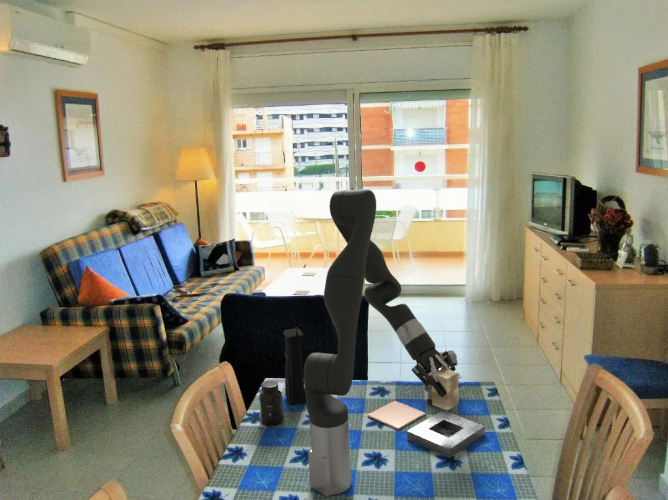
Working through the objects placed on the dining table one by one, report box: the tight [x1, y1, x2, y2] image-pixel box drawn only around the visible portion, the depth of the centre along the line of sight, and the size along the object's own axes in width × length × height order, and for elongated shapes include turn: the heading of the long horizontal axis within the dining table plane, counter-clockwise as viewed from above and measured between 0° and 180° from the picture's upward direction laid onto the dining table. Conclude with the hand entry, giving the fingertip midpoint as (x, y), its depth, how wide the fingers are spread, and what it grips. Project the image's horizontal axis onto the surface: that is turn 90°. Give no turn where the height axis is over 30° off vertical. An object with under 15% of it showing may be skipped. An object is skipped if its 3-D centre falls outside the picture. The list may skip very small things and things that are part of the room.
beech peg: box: [431, 369, 460, 411], centre depth 161 cm, size 5×5×9 cm
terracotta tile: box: [367, 400, 426, 431], centre depth 177 cm, size 12×12×1 cm
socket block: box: [406, 409, 486, 459], centre depth 163 cm, size 16×14×2 cm
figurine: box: [423, 350, 462, 404], centre depth 185 cm, size 9×12×15 cm
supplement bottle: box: [258, 380, 285, 428], centre depth 176 cm, size 7×7×12 cm
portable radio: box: [283, 326, 307, 406], centre depth 188 cm, size 8×6×25 cm
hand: (450, 391), depth 159 cm, fingers closed on beech peg, 5 cm apart
